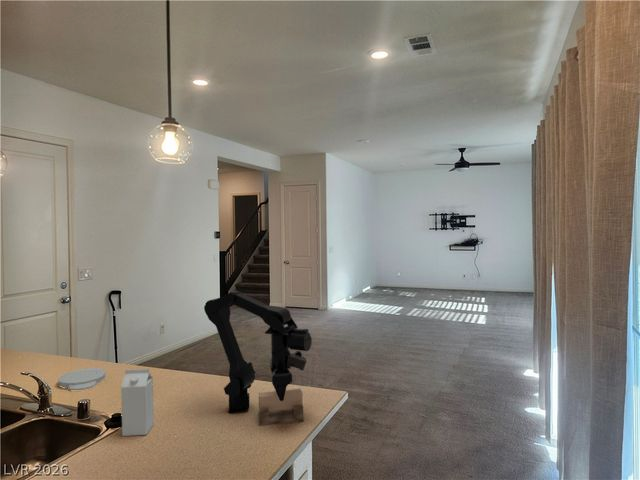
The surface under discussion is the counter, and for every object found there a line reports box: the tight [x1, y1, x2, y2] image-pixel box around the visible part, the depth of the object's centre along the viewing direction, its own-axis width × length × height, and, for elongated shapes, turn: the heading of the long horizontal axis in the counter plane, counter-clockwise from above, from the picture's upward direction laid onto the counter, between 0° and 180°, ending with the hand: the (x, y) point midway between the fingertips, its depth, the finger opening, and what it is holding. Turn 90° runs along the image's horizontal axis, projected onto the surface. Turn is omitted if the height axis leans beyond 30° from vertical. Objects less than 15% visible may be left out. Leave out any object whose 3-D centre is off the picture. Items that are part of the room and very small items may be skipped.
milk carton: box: [120, 368, 155, 437], centre depth 128 cm, size 7×7×19 cm
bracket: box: [258, 404, 305, 426], centre depth 136 cm, size 14×9×5 cm, turn 99°
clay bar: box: [258, 388, 304, 411], centre depth 136 cm, size 14×4×5 cm, turn 104°
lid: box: [57, 367, 107, 391], centre depth 169 cm, size 17×20×3 cm
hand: (280, 395), depth 136 cm, fingers open, 9 cm apart
